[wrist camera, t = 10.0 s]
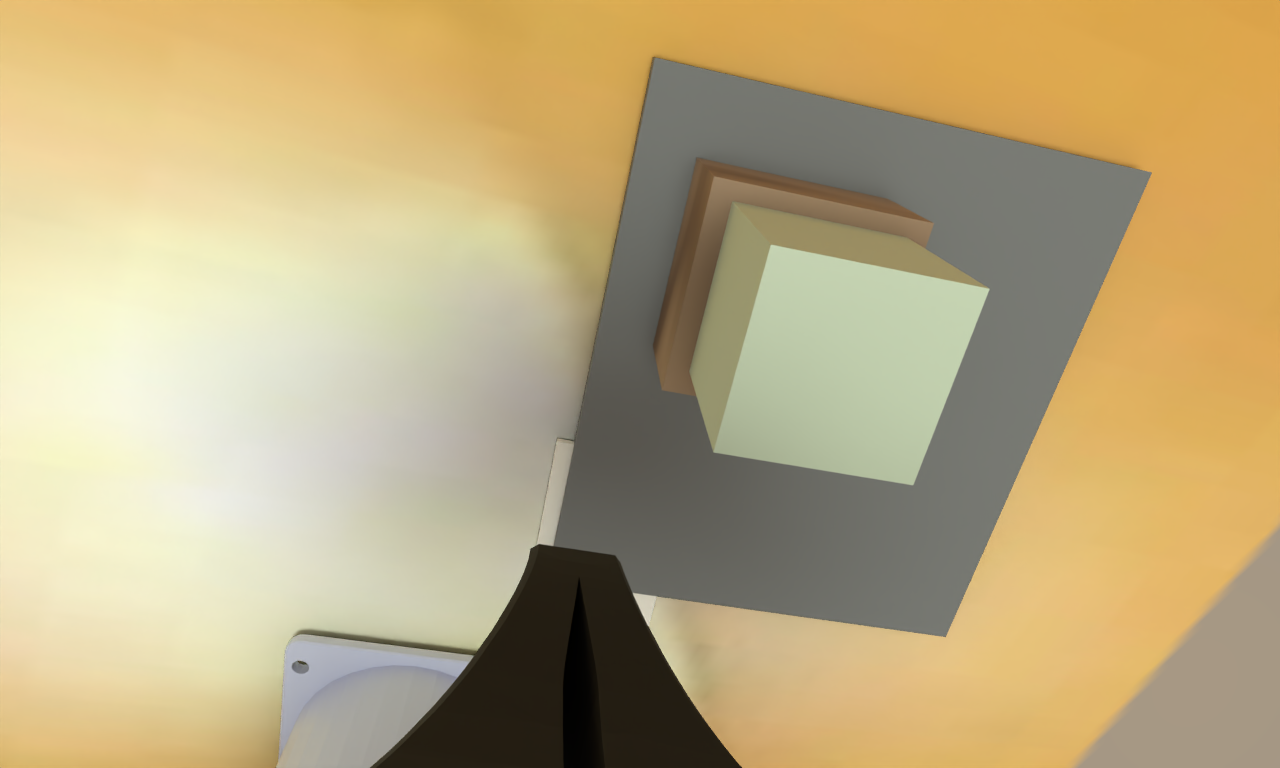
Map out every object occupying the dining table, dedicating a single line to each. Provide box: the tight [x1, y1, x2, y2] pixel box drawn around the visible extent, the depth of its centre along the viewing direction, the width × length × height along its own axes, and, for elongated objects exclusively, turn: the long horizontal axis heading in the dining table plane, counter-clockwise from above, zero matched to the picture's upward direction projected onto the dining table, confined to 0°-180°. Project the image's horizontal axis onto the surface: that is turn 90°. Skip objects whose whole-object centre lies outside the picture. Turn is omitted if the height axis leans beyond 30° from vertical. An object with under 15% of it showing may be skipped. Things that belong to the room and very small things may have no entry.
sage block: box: [689, 201, 989, 485], centre depth 16 cm, size 4×4×4 cm
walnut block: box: [653, 158, 934, 396], centre depth 20 cm, size 5×5×3 cm
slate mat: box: [554, 57, 1152, 637], centre depth 23 cm, size 15×13×1 cm
